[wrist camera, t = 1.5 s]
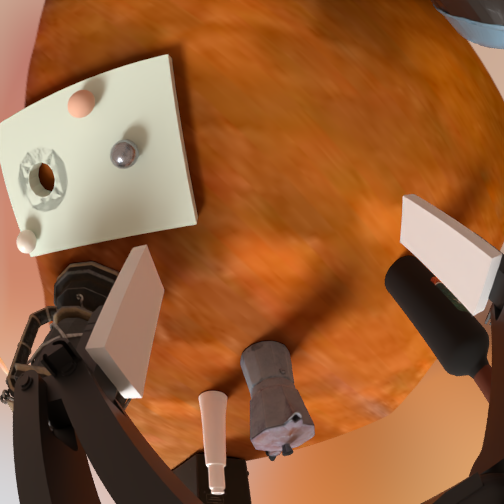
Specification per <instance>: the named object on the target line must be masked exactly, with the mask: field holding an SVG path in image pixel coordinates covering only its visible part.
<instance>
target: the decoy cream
mask: <svg viewBox="0 0 504 504" xmlns="http://www.w3.org/2000/svg"><path fill="white" fill-rule="evenodd" d="M36 243H37V239H36V236H35V234H34V233H33V232H32V231H31V230H23V231H21V232H20V233H19V235H18V237H17V247H18V249H19V250H20V251H21V252H23V253H30V252H32V251H33V250H34V249H35V247H36Z"/></svg>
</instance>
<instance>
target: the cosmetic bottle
mask: <svg viewBox="0 0 504 504" xmlns="http://www.w3.org/2000/svg"><path fill="white" fill-rule="evenodd" d="M199 403H200V408H201V416H202V426H203V439H204V452H205V462H206V466H207V467H208V472H209V488H210V489H211V490H212V491H211V493H212V494H224V491H223V490H224V489H225V476H224V467H225V466H226V434H225V421H226V406H227V396H226V395H225V394H224V393H222V392H219V391H206V392H203V393H201V394H200V395H199Z"/></svg>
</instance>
